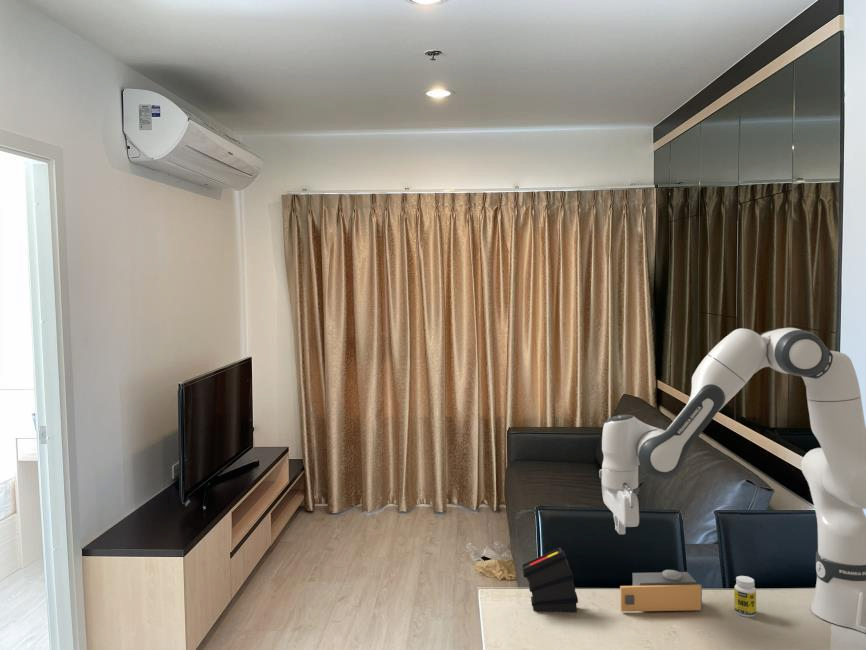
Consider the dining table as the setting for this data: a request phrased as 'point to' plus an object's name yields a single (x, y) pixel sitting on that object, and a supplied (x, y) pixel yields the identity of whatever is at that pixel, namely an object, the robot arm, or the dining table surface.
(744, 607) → the supplement bottle
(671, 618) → the dining table surface
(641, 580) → the block
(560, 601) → the magazine
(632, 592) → the side door
